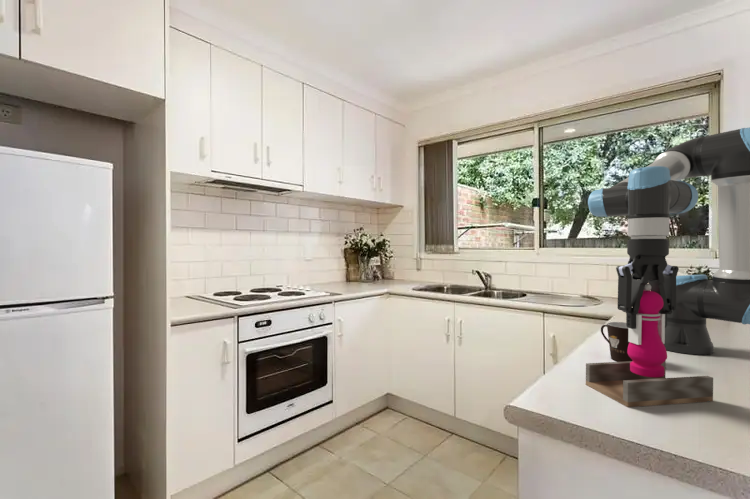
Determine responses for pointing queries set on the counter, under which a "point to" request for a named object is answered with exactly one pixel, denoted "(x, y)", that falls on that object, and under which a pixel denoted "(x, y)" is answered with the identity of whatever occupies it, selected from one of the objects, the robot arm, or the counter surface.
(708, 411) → the counter surface
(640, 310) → the pepper mill
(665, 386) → the rail track
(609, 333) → the coffee mug
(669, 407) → the counter surface
